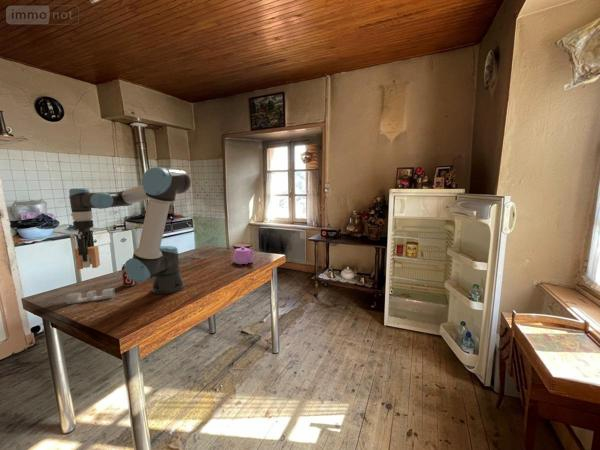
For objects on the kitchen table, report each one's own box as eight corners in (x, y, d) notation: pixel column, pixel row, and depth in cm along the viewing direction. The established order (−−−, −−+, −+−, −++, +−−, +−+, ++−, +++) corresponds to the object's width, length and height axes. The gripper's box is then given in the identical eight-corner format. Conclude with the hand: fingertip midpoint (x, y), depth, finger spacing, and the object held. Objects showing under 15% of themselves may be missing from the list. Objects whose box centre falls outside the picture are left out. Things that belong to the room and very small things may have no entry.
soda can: (136, 281, 147) (134, 261, 145) (139, 284, 142) (137, 264, 141) (122, 284, 142) (120, 263, 141) (124, 288, 138) (122, 266, 136)
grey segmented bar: (115, 295, 129) (114, 287, 128) (113, 297, 126) (112, 290, 125) (70, 301, 122) (69, 293, 122) (67, 304, 119) (65, 296, 118)
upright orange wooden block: (100, 264, 133) (98, 246, 131) (96, 267, 128) (94, 248, 127) (81, 266, 130) (78, 247, 129) (77, 269, 125) (74, 249, 124)
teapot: (227, 263, 183) (227, 247, 181) (241, 258, 194) (241, 243, 192) (247, 268, 172) (246, 251, 170) (261, 263, 182) (260, 247, 181)
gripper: (81, 218, 133) (86, 261, 136) (64, 222, 116) (71, 272, 119) (98, 217, 135) (103, 260, 139) (84, 222, 119) (91, 270, 122)
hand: (88, 265), depth 129 cm, fingers closed on upright orange wooden block, 5 cm apart
